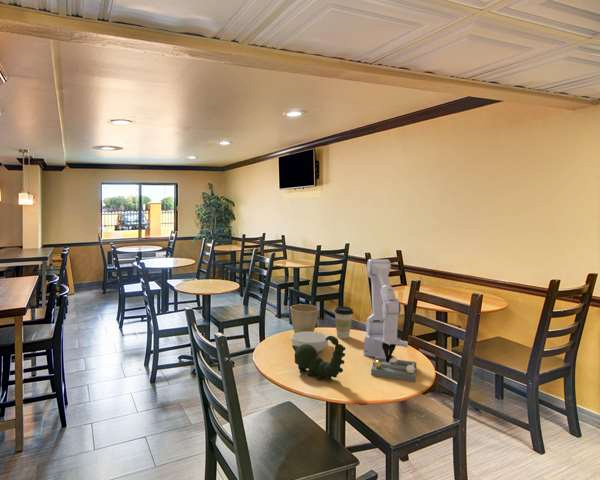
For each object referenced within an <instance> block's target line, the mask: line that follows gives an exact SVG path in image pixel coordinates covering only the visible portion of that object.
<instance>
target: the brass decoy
mask: <svg viewBox="0 0 600 480" xmlns="http://www.w3.org/2000/svg"><path fill="white" fill-rule="evenodd" d="M374 361H375V360H374ZM374 365H375V367H376V368H381V367H382V362H381V361H380V360H376V361H375V363H374Z"/></svg>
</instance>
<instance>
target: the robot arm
mask: <svg viewBox="0 0 600 480" xmlns="http://www.w3.org/2000/svg"><path fill="white" fill-rule="evenodd" d="M391 267H392V264H391V261H390V260H389V259H388V258H387V259H375V258H374V259H373V258H372V259H371V258H369V259H368V260H367V262H366V275H367V278H369V279H370V283H371V306H372V307H371V308H372V309H371V310H372V312H371V315H369V316H368V317H367V319H366V324H365V331H366V334H365V335H364V339H363V340H364V341H363V356H365V357H372V358H373V357H374V358H375V356H377V357H383V358H386V362H389V360H390V358H391V356H392V355H393V353H394V351H395V350H396V347H404V348H408V347H409V346H408V345H409V341H406V340H401V339H398V326H399V325H398V324H399V323H398V322H399V316H400V314H401V311H402V307H401V302H400V300H399V299H398V298H397V296H396V293H395V290H394V287H393V286H391V284H390V277H389V274H390V271H391Z"/></svg>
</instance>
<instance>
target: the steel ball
mask: <svg viewBox="0 0 600 480" xmlns="http://www.w3.org/2000/svg"><path fill="white" fill-rule="evenodd" d="M397 360H398V358H397V357H396V356H395V355H393V354H392V355H391V358H390V360H389V362H388V363H389V364H391V365H396V364H397Z"/></svg>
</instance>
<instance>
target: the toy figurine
mask: <svg viewBox="0 0 600 480" xmlns="http://www.w3.org/2000/svg"><path fill="white" fill-rule="evenodd" d="M327 336H328V337H326V339H325V340H328V341H330V342H331V344H332V345H333V346H334V350H333V352H332V357H331V359H330V361H329V362H327V361H325V360H324V359H323V358H322V357H321V356H319V354H318V353H319V352H317V351H316V349H315V348H314V347H313V346H311V345H309V344H303V345H301V346H295V345H293V344H292V347H291V348H292V349H293V350H294V364H296V365H297V368H298V370H299V371H300V372H305V371H306V370H307V369H308V370H307V375H308V376H310V377H312V376H313V375H314V374H316V375H317V376H316V379H317V380H318V381H320V380H322V379H324V378H326V380H327V381H329V382H330V381H331V380H332V378H335V379H336V378H337V377H338V375H339V374H340V373H343V371H344V369H343V367H341V365H344V364H345V360H344V359H343V358H344V357H345V356H346V353H345V352H344V351H346V347H345V346H343V344H341V343H339V340H338V339H339V338H338V337H337V336H336V337H335V336H333V335H327Z"/></svg>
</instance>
